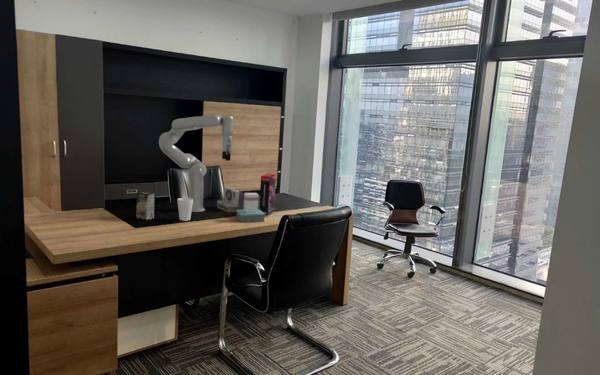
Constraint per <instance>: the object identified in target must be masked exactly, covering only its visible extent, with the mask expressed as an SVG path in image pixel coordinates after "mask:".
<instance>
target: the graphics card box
mask: <svg viewBox="0 0 600 375" xmlns="http://www.w3.org/2000/svg"><path fill="white" fill-rule="evenodd" d="M276 175H277V174H275V173H266V174H263V175H261V176H260V189H259V190H260V191H259V193H260V194H259V210H261V211H262V212H264V213H265V215H264V216H270V215H271V214H272V213H274V212H275V205H276V204H275V203H276V180H277V176H276Z"/></svg>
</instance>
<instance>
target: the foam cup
mask: <svg viewBox="0 0 600 375" xmlns="http://www.w3.org/2000/svg"><path fill="white" fill-rule="evenodd" d="M176 201H177V207H178V208H177V209H178V217H179V218H178V219H179V221H181V220H182V221H181V222H184V221H185V222H188V220H189V221H191V216H192V212H191V211H192V205H193V199H191V198H189V197H179V198H177V200H176Z"/></svg>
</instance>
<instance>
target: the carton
mask: <svg viewBox="0 0 600 375" xmlns="http://www.w3.org/2000/svg"><path fill="white" fill-rule="evenodd" d="M243 194H244V210H243V211H244V212H245V213H258V210H259V201H260V194H258V193H257V192H244V193H243Z"/></svg>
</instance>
